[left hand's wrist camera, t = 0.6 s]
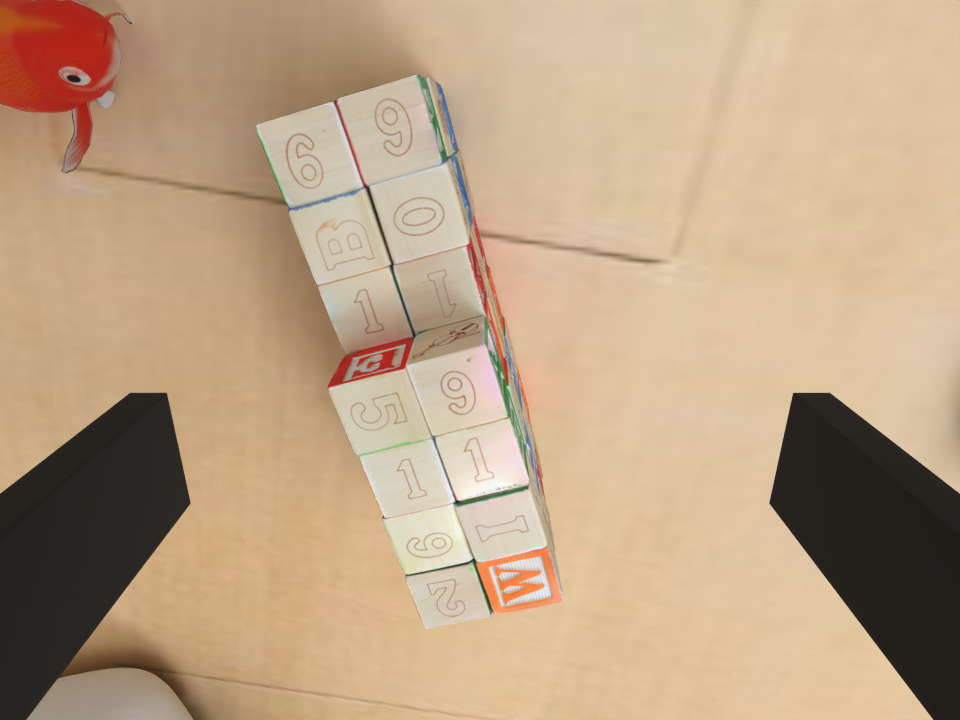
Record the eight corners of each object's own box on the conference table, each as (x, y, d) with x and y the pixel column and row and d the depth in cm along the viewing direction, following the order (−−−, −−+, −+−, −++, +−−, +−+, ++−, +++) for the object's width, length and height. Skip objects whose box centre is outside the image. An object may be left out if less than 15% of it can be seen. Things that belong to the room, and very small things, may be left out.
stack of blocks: (320, 118, 29) (214, 120, 18) (442, 82, 29) (413, 60, 17) (443, 476, 37) (423, 636, 26) (541, 454, 36) (565, 608, 25)
